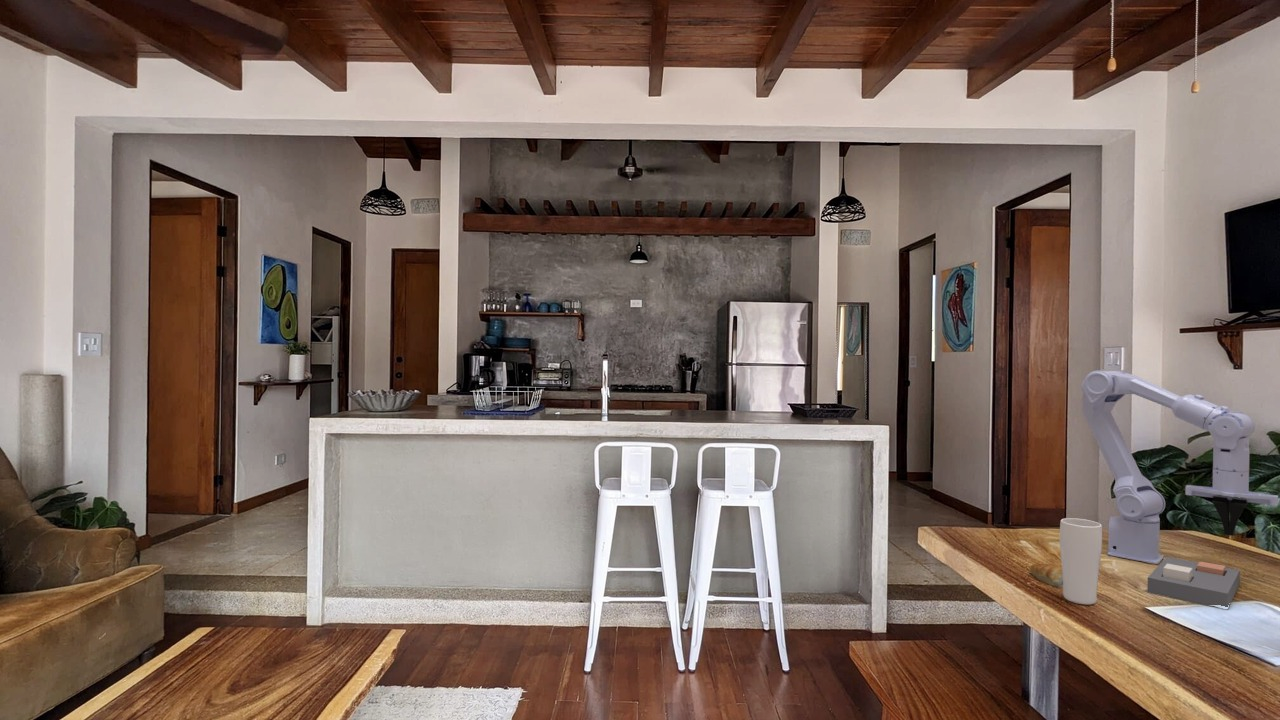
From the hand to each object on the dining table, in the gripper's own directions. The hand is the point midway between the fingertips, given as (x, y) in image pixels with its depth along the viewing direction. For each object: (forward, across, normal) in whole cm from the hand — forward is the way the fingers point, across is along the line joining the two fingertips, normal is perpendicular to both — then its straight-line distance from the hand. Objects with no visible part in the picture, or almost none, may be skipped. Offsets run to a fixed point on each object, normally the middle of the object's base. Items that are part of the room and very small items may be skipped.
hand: (1229, 534), depth 142 cm
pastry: (+10, -25, -29) cm, 39 cm away
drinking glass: (+10, -18, -38) cm, 43 cm away
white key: (+8, -6, -18) cm, 20 cm away
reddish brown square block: (+8, -2, -8) cm, 12 cm away
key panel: (+9, -4, -13) cm, 17 cm away
